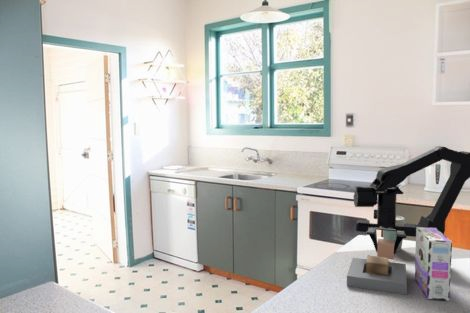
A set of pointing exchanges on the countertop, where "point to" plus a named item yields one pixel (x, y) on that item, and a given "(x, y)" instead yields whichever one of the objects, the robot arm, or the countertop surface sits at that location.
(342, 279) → the countertop surface
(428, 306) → the countertop surface
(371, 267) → the walnut block
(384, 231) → the coffee cup
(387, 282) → the grey slotted square board
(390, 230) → the robot arm
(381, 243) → the peach cube
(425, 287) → the candy box
